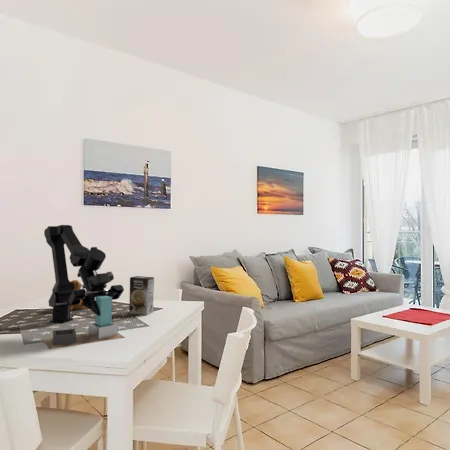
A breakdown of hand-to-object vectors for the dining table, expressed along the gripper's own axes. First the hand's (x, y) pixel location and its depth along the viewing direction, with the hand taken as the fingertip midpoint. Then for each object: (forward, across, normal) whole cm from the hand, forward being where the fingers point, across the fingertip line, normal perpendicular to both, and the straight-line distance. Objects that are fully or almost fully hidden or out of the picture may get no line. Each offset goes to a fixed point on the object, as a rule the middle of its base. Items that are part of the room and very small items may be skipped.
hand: (105, 314), depth 136 cm
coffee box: (-12, +32, +24) cm, 41 cm away
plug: (+4, 0, +5) cm, 6 cm away
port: (+4, 0, +6) cm, 8 cm away
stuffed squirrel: (-31, +13, +44) cm, 56 cm away
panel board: (+4, -6, +8) cm, 11 cm away
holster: (+3, -12, +8) cm, 15 cm away
